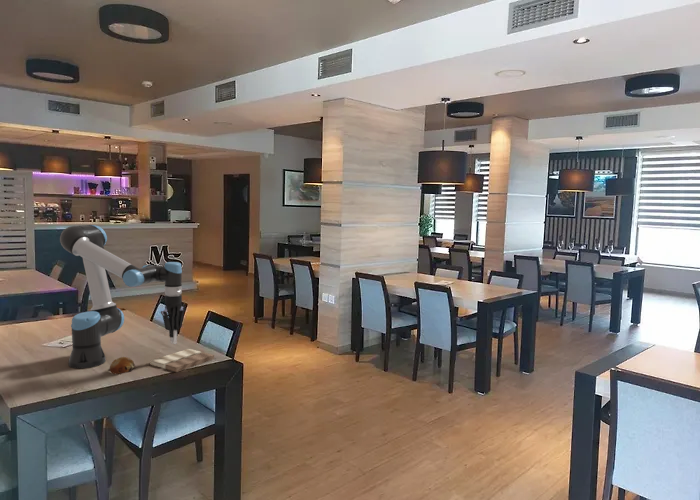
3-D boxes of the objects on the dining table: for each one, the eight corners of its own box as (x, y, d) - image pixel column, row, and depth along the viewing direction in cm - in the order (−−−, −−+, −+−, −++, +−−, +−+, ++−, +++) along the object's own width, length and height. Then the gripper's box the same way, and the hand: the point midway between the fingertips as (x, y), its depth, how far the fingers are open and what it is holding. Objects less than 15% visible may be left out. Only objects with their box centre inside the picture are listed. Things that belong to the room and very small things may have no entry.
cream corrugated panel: (163, 368, 220) (163, 363, 220) (150, 364, 224) (150, 360, 224) (201, 355, 239) (201, 351, 238) (188, 352, 243) (188, 348, 243)
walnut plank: (176, 372, 215) (176, 367, 215) (165, 368, 219) (165, 364, 219) (214, 359, 234) (214, 354, 234) (203, 356, 238) (203, 352, 238)
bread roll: (130, 374, 224) (126, 357, 225) (140, 369, 217) (136, 352, 219) (108, 379, 216) (104, 362, 217) (118, 375, 210) (114, 357, 211)
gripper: (167, 297, 222) (167, 348, 224) (189, 293, 233) (189, 341, 235) (156, 295, 226) (156, 345, 228) (179, 291, 237) (179, 339, 239)
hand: (173, 343), depth 232 cm, fingers closed
